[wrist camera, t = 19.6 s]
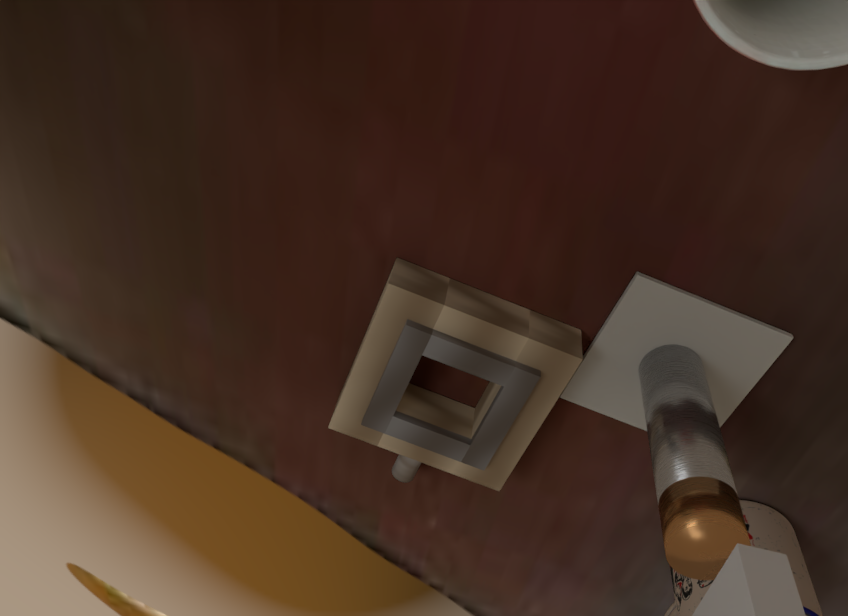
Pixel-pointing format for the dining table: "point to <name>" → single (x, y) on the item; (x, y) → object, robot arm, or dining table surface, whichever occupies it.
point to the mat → (663, 325)
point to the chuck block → (465, 350)
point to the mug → (782, 30)
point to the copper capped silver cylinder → (689, 464)
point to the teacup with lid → (763, 533)
